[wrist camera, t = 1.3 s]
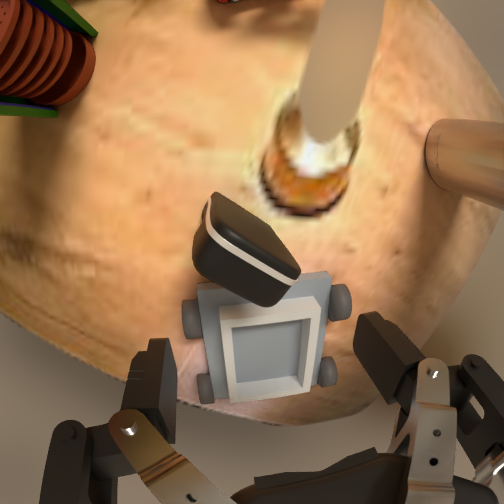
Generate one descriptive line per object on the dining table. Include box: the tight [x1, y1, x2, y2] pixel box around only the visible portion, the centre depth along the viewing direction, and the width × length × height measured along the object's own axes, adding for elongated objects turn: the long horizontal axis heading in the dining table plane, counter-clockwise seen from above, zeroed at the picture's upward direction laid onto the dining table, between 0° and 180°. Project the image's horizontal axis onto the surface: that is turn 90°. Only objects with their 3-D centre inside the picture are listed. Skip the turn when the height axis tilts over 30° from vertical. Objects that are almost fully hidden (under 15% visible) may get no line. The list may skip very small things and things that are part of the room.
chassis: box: [182, 271, 352, 404], centre depth 31 cm, size 17×17×4 cm
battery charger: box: [192, 192, 301, 308], centre depth 22 cm, size 7×4×11 cm, turn 55°
